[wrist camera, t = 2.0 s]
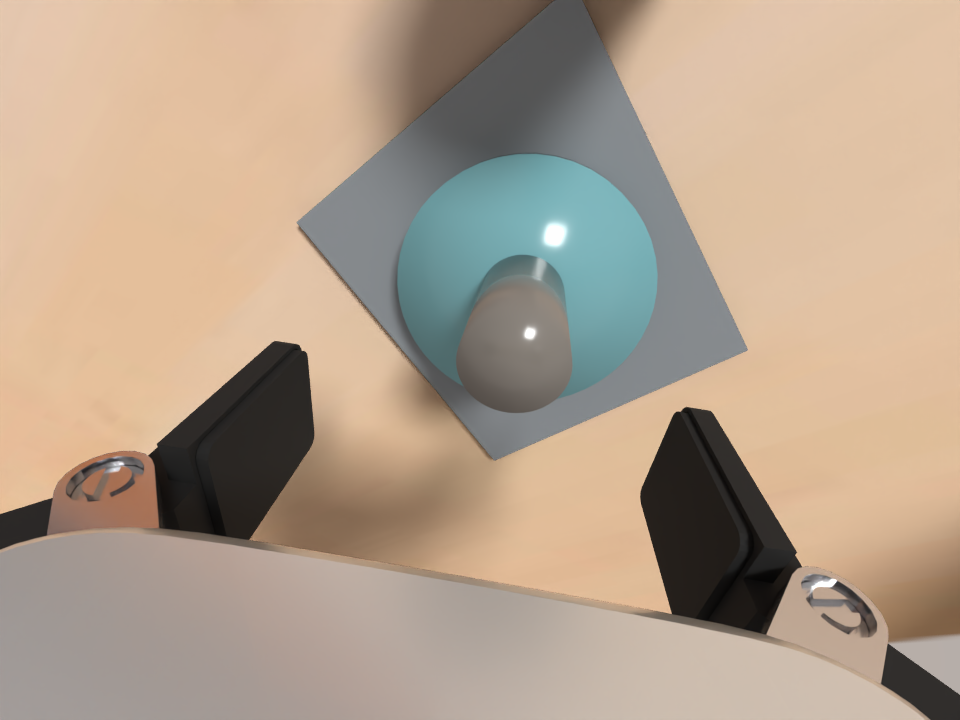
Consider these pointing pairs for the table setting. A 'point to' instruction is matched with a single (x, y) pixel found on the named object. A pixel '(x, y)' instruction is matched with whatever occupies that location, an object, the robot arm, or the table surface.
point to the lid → (527, 279)
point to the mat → (531, 129)
